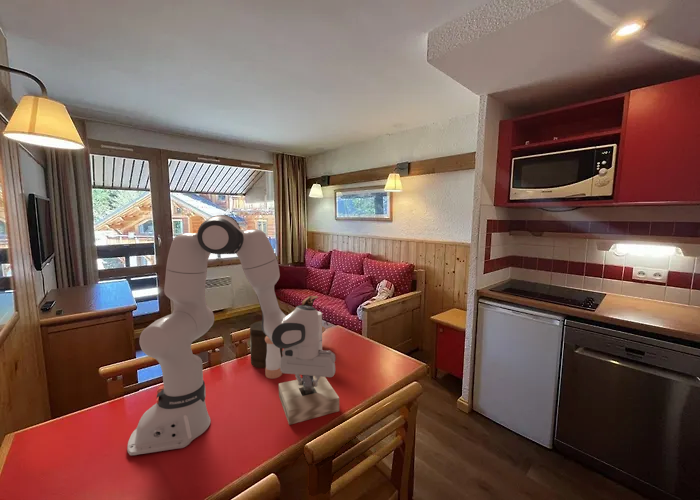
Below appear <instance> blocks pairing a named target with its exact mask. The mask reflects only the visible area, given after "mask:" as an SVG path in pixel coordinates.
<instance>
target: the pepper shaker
mask: <svg viewBox="0 0 700 500" xmlns="http://www.w3.org/2000/svg"><path fill="white" fill-rule="evenodd" d="M265 342H266V343H267V355H266V368H264V371H265V372H264V373H265V377H266V378H267V379H270V380H271V379H272V380H273V379H277V378H280V377H281V376H282V375H283V373H282V372H281V370H280V363H281V354H280V348H278V347H276V346H275V345H274V344H273V343H272V341H271V340H270V339H269V338H268V337H267V336H266V337H265Z"/></svg>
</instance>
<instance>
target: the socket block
mask: <svg viewBox="0 0 700 500" xmlns="http://www.w3.org/2000/svg"><path fill="white" fill-rule="evenodd" d="M313 379H314V380H316V377H315V376H313ZM278 397H279V400H280V403H281V406H282V409H283V412H284V415H285V417H286V420H287V424H288V425H289V426H290V425H293V424H297V423H302V422H304V421H308V420H311V419H315V418H319V417H323V416H326V415H330V414H333V413H337V412H340V397H339V395H338V393H337V392H336V391H335V389H334V388H333V387H332V384H330V382H329V381H328V379H327V377H321V376H320V378H319V380H318V386H317V387H314V393H313V394H309V395H305V396H304V394H303V385H298V380H297V379H294V380H289V381H284V382H280V383H278Z"/></svg>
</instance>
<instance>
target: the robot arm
mask: <svg viewBox="0 0 700 500" xmlns="http://www.w3.org/2000/svg"><path fill="white" fill-rule="evenodd" d="M210 255H236V256H237V257H238V259H239V262H240V264H241V268H242V270H243V274H244V275H245V277H246V280H247V282H248V283H249V286H251V288H252V290H253V291H254V293H255V294H256V297H257V300H258V303H259V307H260V310H261V314H262V315H261V317H262V319H261V321H262V330H263V332H264V334H265V335H266V336H267V337H268V338H269V339H270V340H271V341H272V343H273V344H274V345H275V346H276V347H278V348H281V349H283V351H282V355H283V356H282V358H281V363H280V370H281V372H282V374H288V375H295V380H298V385H303V379H302V377H301V376H302V375H310V376H315V377H316V380H314V381H313V387H317V386H318V380H319V378H320V376H321V377H325V378H332V377H334V375H335V374H336V363H335V362H336V354H335V352H332V350H323V349H322V350H320V343H319V336H318V333H319V317H318V312H317V311H318V310H317V309H316V308H315V307H314V306H313V307H312V306H308V305H302V304H300V305H297V306H296V307H295V309H294V310H292V311H291V312H290V313H288V314H285V313H284V311H282V310H281V308H280V305H279V301H278V299H277V296H276V292H275V285H276V284H277V282H278V281H279V279H280V276H281V274H280V267H279V266H280V265H279V263H278V260H277V256H276V253H275V251H274V249H273V245H272V243H271V242H270V240H269V238H268V236H267V234H266V233H265V232H264V231H263V230H261V229H247V230H243V229H241V227H240V224H239V223H238V221H237V220H236V219H235V218H234V217H232V216H230V215H225V214H218V215H213V216H211V217H209V218H208V219H206V220H205V221H203V222H202V223H201V224H200V226H198V230H197V232H195V233H192V232H183V233H180V234H178V235H176V236H175V237H173V240H172V241H171V245H170V248H169V250H168V255H167V261H166V268H165V278H164V287H163V288H164V289H163V291H164V292H163V293H164V294H165V296H166V297H167V298H168V299H169V300H172V303H173V310H172V313H170V314H167V315H165V316H163V317H161V318H158V319H156V320H154V322H152V323H151V324H149V325H148V326H147V327H145V328H144V329H143V330H142V331H141V333H140V335H139V346H140V349H141V351H142V352H143V353H144V354H145V355H146V356H148V357H149V358H152V359H155V360H156V361H157V362H158V364H159V365H160V368H161V371H162V372H161V373H162V381H163V382H162V383H163V385H160V386H159V387H158V388H157V390H156V403H155V404H153V405H152V406H151V407H149V408H148V409H147V410H146V411H145V412H144V413H143V414H142V415H141V417H140V419H139V420H138V423H137V426H136V428H135V429H134V430H133V431H132V432H131V435H130V437H129V439H128V441H127V453H128V455H129V456H137V455H143V454H150V453H157V452H162V451H163V452H164V451H169V450H178V449H183V448H185V447H188V445H190V444H191V442H193V440H195V439H196V438H198V437H199V436H201V435H202V434H203V433H205V432H206V431H207V430H208V428H209V426H210V425H211V417H210V415H209V413H208V409H207V405H206V396H207V395H206V394H207V393H206V392H207V391H206V383H205V380H204V375H203V374H204V373H203V361H202V359H201V358H202V357H200V356H198V355H197V354H193V351H192V344H193V342H194V341H196V340H198V339H200V337H202V336H204V335H206V333H207V332H208V331H209V330H210V329H211V327H213V325H214V323H215V314H214V312H213V310H212V309H211V308H210V307H209V306H208V304H207V300H206V284H207V283H206V281H207V272H208V263H209V258H210Z"/></svg>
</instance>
